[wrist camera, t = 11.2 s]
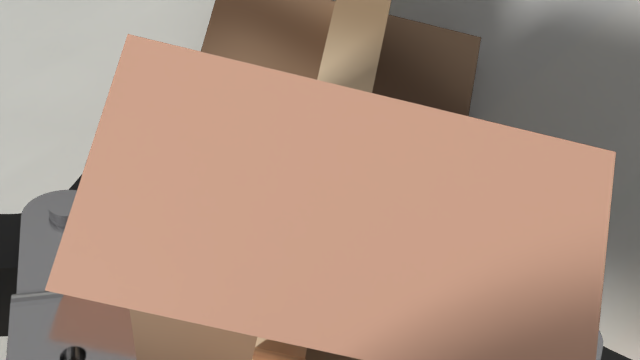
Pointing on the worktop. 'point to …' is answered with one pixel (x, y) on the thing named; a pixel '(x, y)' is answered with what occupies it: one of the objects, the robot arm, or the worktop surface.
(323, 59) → the ridged rail
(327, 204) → the slotted upright
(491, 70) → the worktop surface
